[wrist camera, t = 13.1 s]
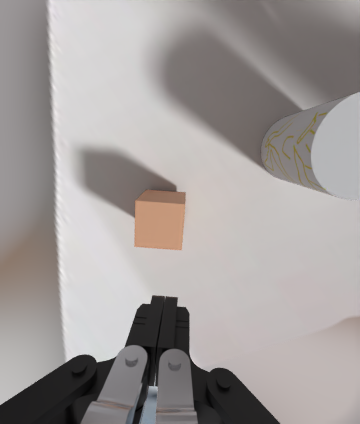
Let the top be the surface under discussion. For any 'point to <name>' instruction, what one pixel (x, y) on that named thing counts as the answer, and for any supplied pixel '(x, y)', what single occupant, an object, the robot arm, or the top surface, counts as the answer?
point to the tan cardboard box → (159, 219)
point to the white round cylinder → (318, 148)
